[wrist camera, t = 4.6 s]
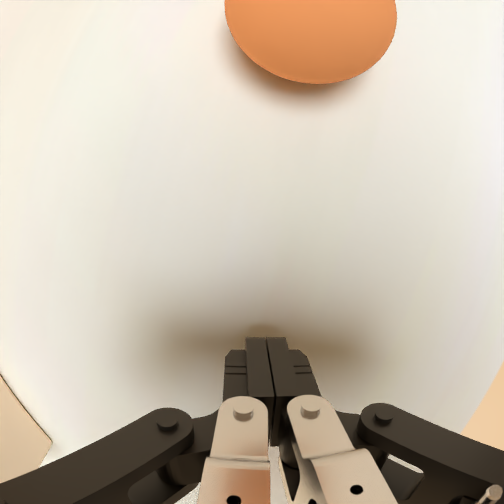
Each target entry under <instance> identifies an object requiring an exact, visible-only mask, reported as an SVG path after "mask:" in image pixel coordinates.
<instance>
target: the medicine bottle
mask: <svg viewBox="0 0 504 504" xmlns="http://www.w3.org/2000/svg"><path fill="white" fill-rule="evenodd" d="M51 445H52V442H51V440H50V439H49V438H48V436H47V435H46V434H45V433H44V432H43V431H42V430H41V428H40V427H39V426H38V425H37V424H36V423H35V421H34V420H33V419H32V418H31V416H30V415H29V414H28V413H27V411H26V410H25V409H24V408H23V406H22V405H21V404H20V402H19V401H18V400H17V398H16V397H15V396H14V394H13V393H12V392H11V390H10V389H9V387H8V386H7V385H6V383H5V382H4V380H3V379H2V377H1V376H0V483H3V482H5V481H8V480H11V479H13V478H16V477H18V476H21V475H23V474H26V473H28V472H31V471H33V470H35V469H38V468H39V466H40V465H41V463H42V461H43V459H44V457H45V456H46V454H47V452H48V450H49V449H50V447H51Z"/></svg>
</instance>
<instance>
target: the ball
mask: <svg viewBox="0 0 504 504" xmlns="http://www.w3.org/2000/svg"><path fill="white" fill-rule="evenodd" d="M225 15H226V20H227V24H228V27H229V29H230V31H231V34H232V36H233V37H234V39H235V41H236V43H237V44H238V45H239V47H240V48H241V49H242V50H243V52H244V53H245V54H246V55H247V56H248V57H249V58H250V59H251V60H253V61H254V62H255V63H256V64H258V65H259V66H261V67H262V68H264V69H265V70H267V71H269V72H271V73H273V74H275V75H277V76H279V77H282V78H285V79H288V80H291V81H296V82H301V83H309V84H327V83H335V82H340V81H344V80H347V79H350V78H353V77H355V76H357V75H359V74H361V73H363V72H365V71H366V70H368V69H369V68H370V67H372V66H373V65H374V64H375V63H376V62H377V61H379V60H380V59H381V57H382V56H383V55H384V54H385V52H386V51H387V49H388V47H389V45H390V44H391V42H392V39H393V37H394V33H395V29H396V23H397V12H396V5H395V0H225Z"/></svg>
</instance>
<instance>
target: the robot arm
mask: <svg viewBox="0 0 504 504" xmlns="http://www.w3.org/2000/svg"><path fill="white" fill-rule="evenodd" d="M269 439H270V446H279V452H280V455H279V461H278V465H279V469H280V473H281V477H282V481H283V485H284V489H285V493H286V497H287V501H288V504H504V451H502V450H500V449H497V448H494V447H491V446H488V445H486V444H483V443H480V442H477V441H475V440H472V439H470V438H467V437H465V436H462V435H460V434H457V433H455V432H452V431H450V430H447V429H445V428H442V427H440V426H438V425H435V424H433V423H431V422H428V421H426V420H424V419H421V418H419V417H417V416H415V415H412V414H410V413H408V412H406V411H403V410H401V409H399V408H397V407H395V406H392V405H389V404H385V403H375V404H371V405H369V406H367V407H365V408H364V409H363V410H362V412H361V415H359V414H349V413H342V412H339V411H336V410H334V408H333V406H332V404H331V403H330V402H329V401H328V400H326V399H324V398H322V397H321V395H320V392H319V389H318V386H317V384H316V381H315V378H314V375H313V374H312V370H311V367H310V364H309V361H308V359H307V357H306V356H305V355H304V354H303V353H302V352H301V351H300V350H289V349H288V345H287V342H286V338H285V337H278V338H269V337H266V339H265V338H259V337H246V339H245V350H231V351H230V352H229V353H228V355H227V356H226V357H225V372H224V389H223V402H222V404H221V405H220V407H219V409H218V410H217V411H216V412H214V413H213V414H211V415H208V416H205V417H200V418H194V419H191V417H190V416H189V415H188V414H187V413H186V412H184V411H182V410H179V409H175V408H161V409H157V410H154V411H152V412H150V413H148V414H147V415H145V416H143V417H141V418H139V419H138V420H136V421H134V422H132V423H130V424H128V425H127V426H125V427H123V428H121V429H119V430H117V431H115V432H113V433H112V434H110V435H108V436H106V437H104V438H102V439H100V440H98V441H96V442H94V443H92V444H90V445H88V446H86V447H84V448H82V449H80V450H78V451H75V452H73V453H71V454H69V455H67V456H65V457H63V458H60V459H58V460H56V461H54V462H52V463H49V464H47V465H45V466H42V467H40V468H38V469H35V470H33V471H31V472H28V473H26V474H23V475H21V476H18V477H16V478H13V479H11V480H8V481H5V482H3V483H0V504H174V503H176V502H177V501H179V500H180V499H181V498H183V497H184V496H185V495H187V494H188V493H189V492H191V491H192V490H193V489H194V488H195V487H197V485H198V484H199V482H201V484H200V489H199V494H198V499H197V504H270V461H268V447H269ZM389 454H391V455H393V456H395V457H397V458H399V459H401V460H403V461H405V462H407V463H409V464H412V465H414V466H416V467H418V468H420V469H421V470H422V471H423V472H424V473H417V472H415V471H413V470H411V469H409V468H406V467H404V466H402V465H400V464H398V463H396V462H394V461H392V460H390V459H388V456H389Z"/></svg>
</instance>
